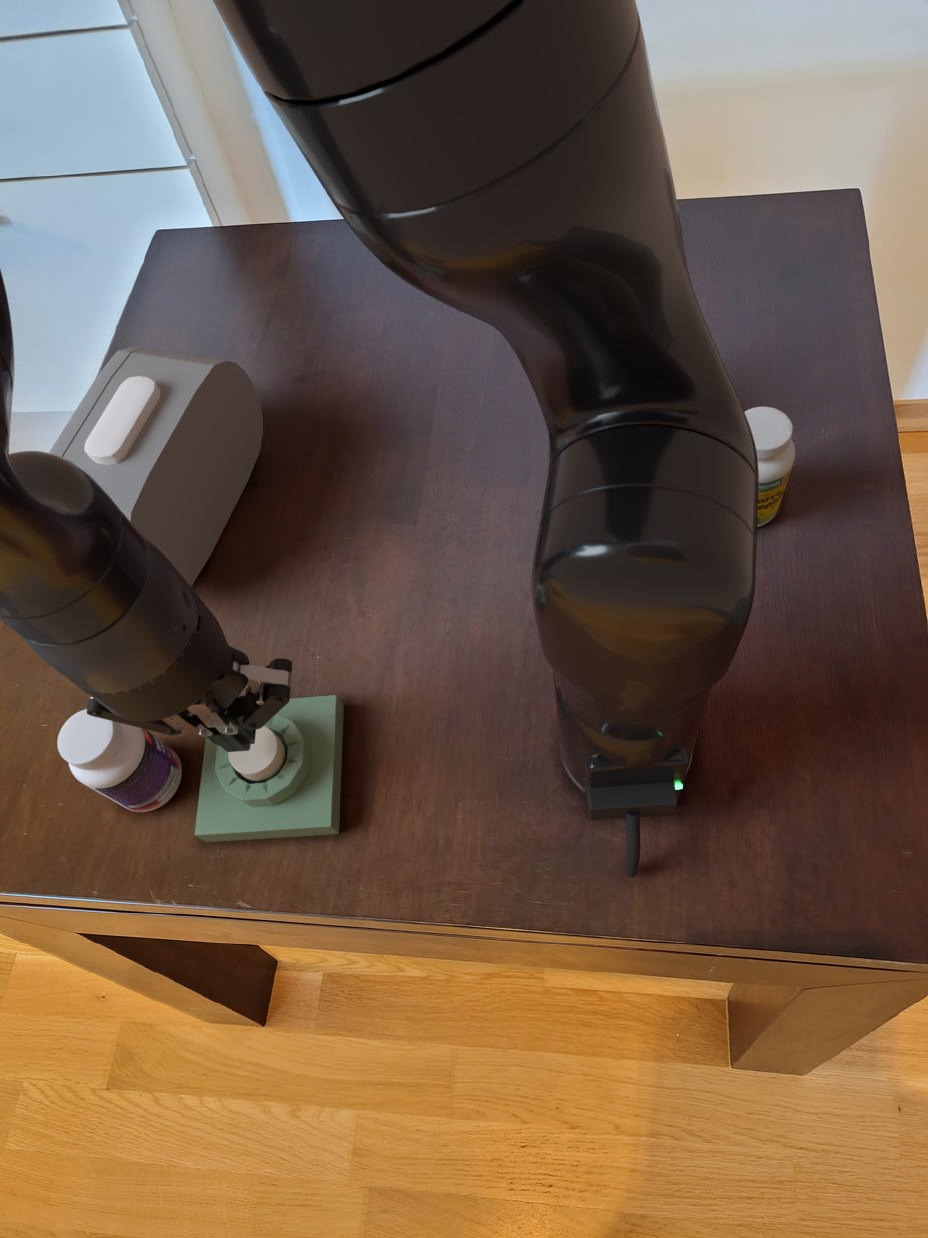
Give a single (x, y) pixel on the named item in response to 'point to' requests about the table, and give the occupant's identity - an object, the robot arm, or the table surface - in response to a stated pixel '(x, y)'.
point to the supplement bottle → (771, 457)
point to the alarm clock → (169, 446)
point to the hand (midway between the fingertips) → (241, 737)
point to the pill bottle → (120, 761)
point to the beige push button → (260, 756)
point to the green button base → (279, 780)
